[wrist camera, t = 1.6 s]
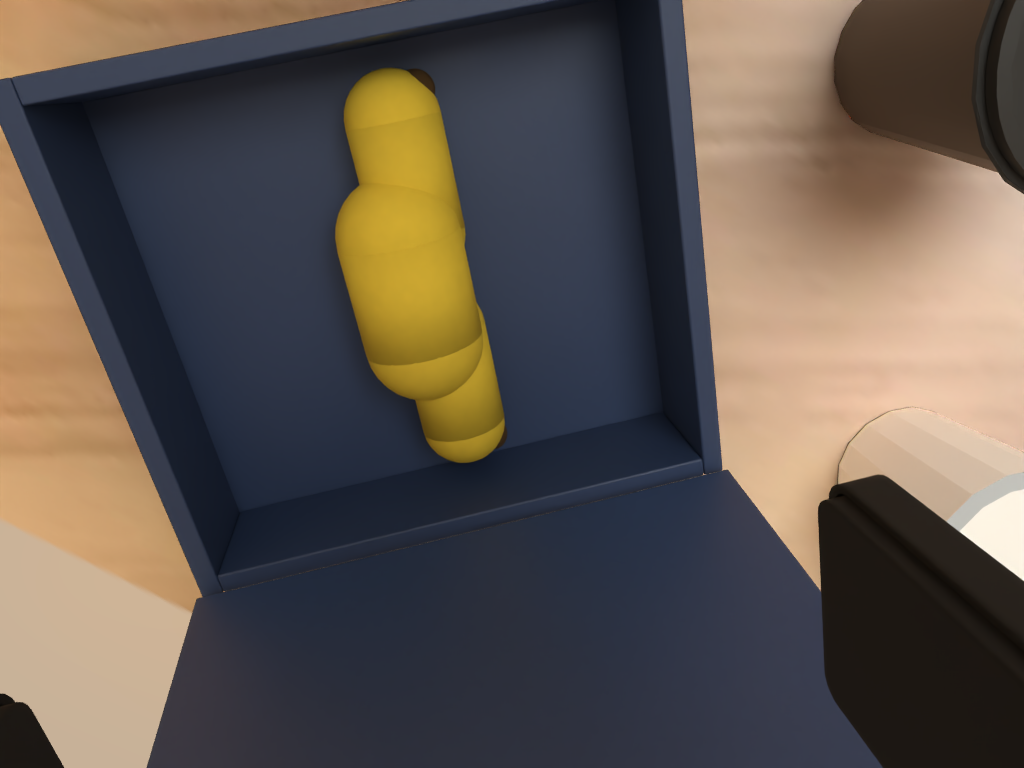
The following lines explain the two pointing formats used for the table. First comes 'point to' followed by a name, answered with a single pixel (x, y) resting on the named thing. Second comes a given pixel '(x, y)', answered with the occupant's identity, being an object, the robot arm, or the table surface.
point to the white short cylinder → (948, 476)
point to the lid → (525, 651)
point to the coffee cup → (939, 78)
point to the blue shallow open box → (321, 284)
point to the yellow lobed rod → (416, 265)
